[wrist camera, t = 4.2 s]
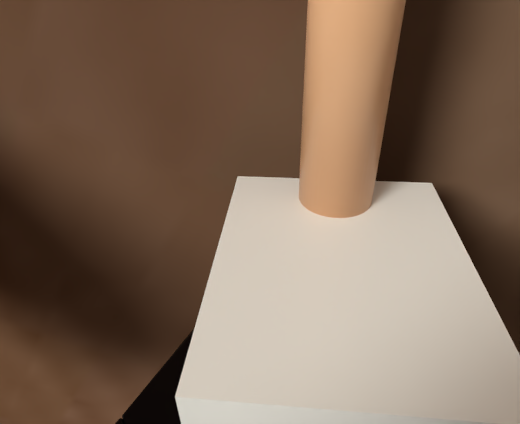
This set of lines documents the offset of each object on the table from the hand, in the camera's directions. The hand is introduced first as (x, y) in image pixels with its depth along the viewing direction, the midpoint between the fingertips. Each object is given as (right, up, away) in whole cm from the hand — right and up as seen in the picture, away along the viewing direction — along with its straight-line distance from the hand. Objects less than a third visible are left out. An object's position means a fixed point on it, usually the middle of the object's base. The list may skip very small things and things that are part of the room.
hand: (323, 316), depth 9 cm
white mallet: (0, +4, -2) cm, 4 cm away
